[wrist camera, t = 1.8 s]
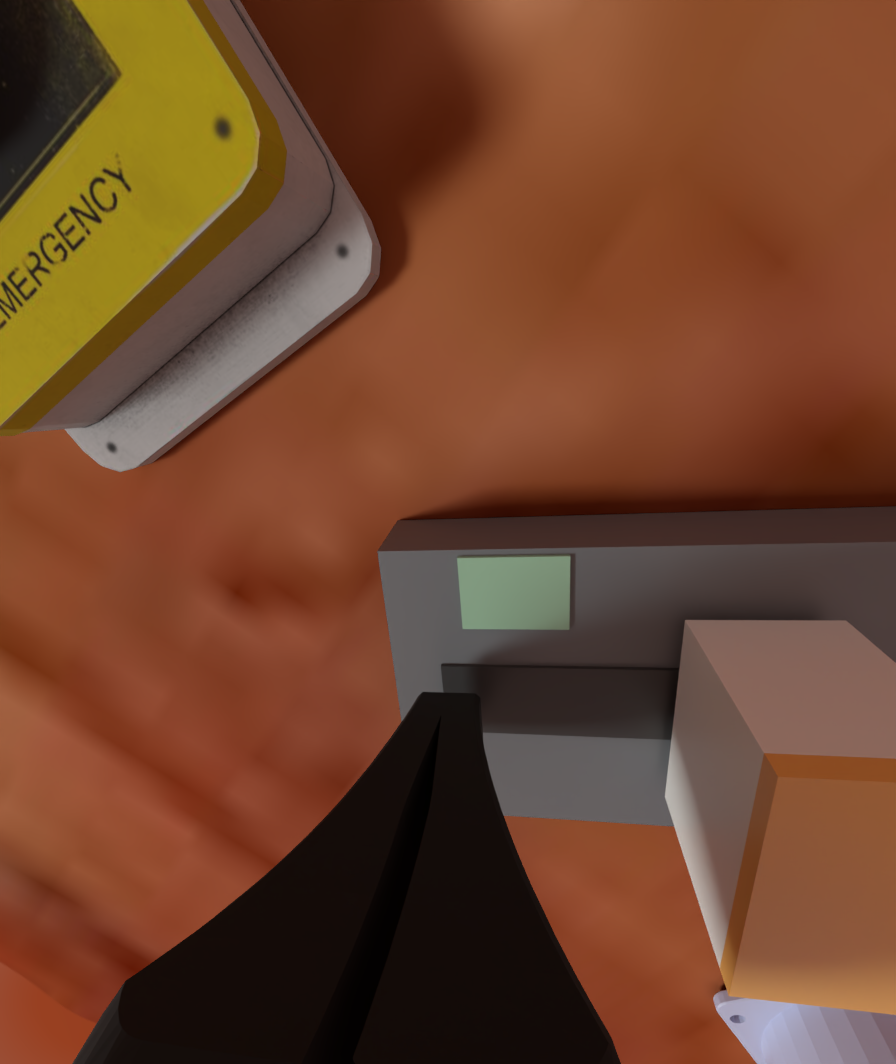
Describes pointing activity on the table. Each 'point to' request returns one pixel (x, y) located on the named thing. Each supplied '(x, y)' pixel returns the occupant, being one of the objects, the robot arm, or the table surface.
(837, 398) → the table surface
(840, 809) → the knob
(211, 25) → the emergency button
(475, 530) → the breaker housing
